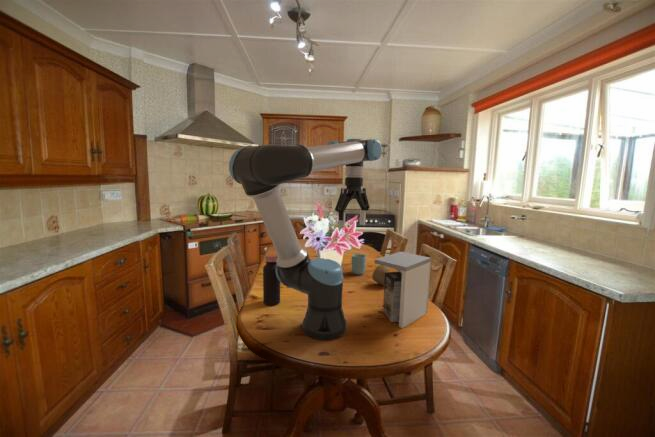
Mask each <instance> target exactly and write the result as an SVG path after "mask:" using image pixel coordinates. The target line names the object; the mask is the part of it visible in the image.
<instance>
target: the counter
mask: <svg viewBox="0 0 655 437" xmlns="http://www.w3.org/2000/svg"><path fill="white" fill-rule="evenodd" d="M431 263H432V258H431V257H429V256H424V255H419V254H414V253H410V252H406V251H399V252H393V253H392V254H389V255H384V256H381V257H379V258H375V259H374V264H375V265H378V266H379V265H383V266H387V267H388V268H389V269H390V268H391V269H395V270H397V272H401V273H402V279H401V297H400V315H399V322H398V328H401V329H404V328H405V327H407V326H408V325H410V324H412V323H413V322H416V321H417V320H418V319H419V318H422V317H423V316H424V315H426V314H427V313H428V310H429V309H428V308H429V306H428V305H429V292H430V279H431V278H430V277H431V276H430V275H431V265H432V264H431Z"/></svg>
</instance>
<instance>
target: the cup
mask: <svg viewBox="0 0 655 437" xmlns="http://www.w3.org/2000/svg"><path fill="white" fill-rule="evenodd" d="M366 266H367V255H366V254H362V253H354V254H352V255H351V271H352V273H353V274H354V275H361V276H362V275H363V274H364V273H365V271H366Z"/></svg>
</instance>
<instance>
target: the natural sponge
mask: <svg viewBox="0 0 655 437" xmlns="http://www.w3.org/2000/svg"><path fill="white" fill-rule="evenodd" d="M386 272H392V271H391V269H390V267H387V266H383V265H379V264H378V265H377V266H376V267H375V268H374V270H373V272H372V275H371V276H372V277H371V278H372V280H373V281H374V282H375V283H377V284H378V285H380V286H384V281H385V273H386Z"/></svg>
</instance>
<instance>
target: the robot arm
mask: <svg viewBox="0 0 655 437" xmlns="http://www.w3.org/2000/svg"><path fill="white" fill-rule="evenodd" d="M382 153H383V146H382V144H381V142H380V140H378V139H376V138H374V139H371V138H370V139H361V138H347V140H346V141H337V140H335V141H334V140H330V141H328V142H327V143H326V144H324V145H316V146H309V147H308V146H305V145H304V144H296V145H289V144H288V145H285V144H261V145H247V146H242V147H241V148H238V149H237V150H235V151H234V152H233V153H232V155H231V157H230V159H229V162H228V172H229V174H230V176H231V178H232V179H233V181H234V182H236V183H237V184H239V185H241V186H242V188H243V190H244V193H245V195H246V196H247V197H250V198H252V199H253V202H254V204H255V206H256V208H257V211H258V212H259V215H260V217H261V219H262V222H263V224H264V226H265V229H266V231H267V234H268V236H269V238H270V241H271V243H272V245H273V247H274V249H275V252H276V254H277V255H278V258H277V260H276V263H277V265H276V266H277V268H276V276H277V278H278V280H279V281H280V284H282V285H283V286H285V287H286V288H289V289H293V290H295V291H298V292H300V293H303V294H306V295H307V308H306V312H305V315H304V318H303V319H302V331H303V333H304V334H305V335H306V336H308V337H309V338H312V339H315V340H326V341H328V340H334V339H338V338H340V337H343V335H344V334H345V333H347V325H348V324H347V320H346V317H345V314H344V310H343V287H344V286H343V285H344V274H343V272H344V271H343V267H342V265H341V264H340V263H339V262H337V261H336V260H333V259H329V258H320V257H317V258H313V259H311V258H310V255H309V252H308V250H307V249H306V248H305V247H302V246H301V244H300V242H299V239H298V237H297V233H296V231H295V228H294V226H293V223H292V220H291V218H290V216H289V213H288V210H287V208H286V205H285V202H284V200H283V198H282V195H281V193H280V189H279V188H280V186H281V185H282V184H286V183H290V182H293V181H297V180H300V179H303V178H308V177H309V176H310V175H311V173H315V172H320V171H325V170H328V169H335V168H338V167H343V166H345V174H344V175H345V176H346V177H344V186H345V187H346V188H341V189H340V194H339V197H338V199H337V201H336V202H337V203H336V205H335V208H334V211H335V212H336V213H338V228H339V229H346V212H345V211H346V209H347V208H348V206H349V204H350V202H351V201H352V200H356V202H357V204H358V206H359V207H360V210H359V225H360V226H366V219H367V218H366V217H367V211H369V209H370V204H369V199H368V195H367V189H366V188H365V187H363V185H364V178H363V177H364V162H373V161H378V160H379V159H380V158H381V156H382Z"/></svg>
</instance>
